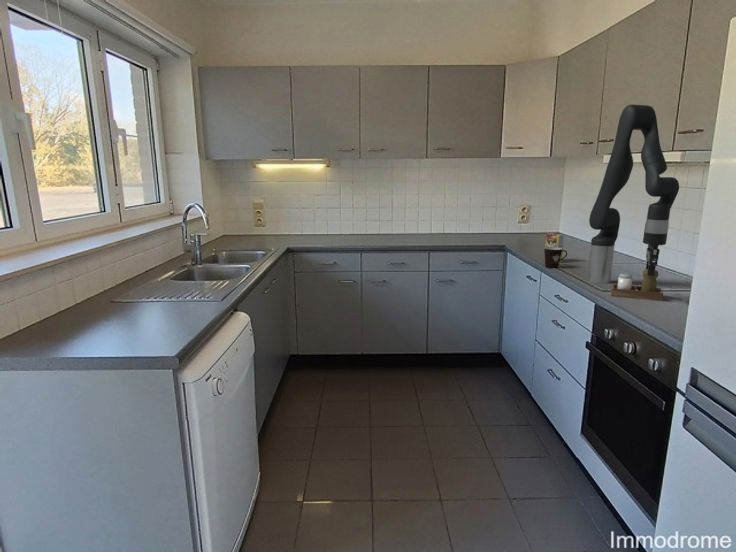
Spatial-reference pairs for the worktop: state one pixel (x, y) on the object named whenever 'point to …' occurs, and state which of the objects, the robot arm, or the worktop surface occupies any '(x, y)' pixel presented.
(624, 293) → the spice caddy
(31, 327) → the worktop surface
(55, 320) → the worktop surface
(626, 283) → the salt shaker
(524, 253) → the worktop surface
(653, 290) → the cork
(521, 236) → the worktop surface
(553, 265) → the coffee mug
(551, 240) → the candy box
